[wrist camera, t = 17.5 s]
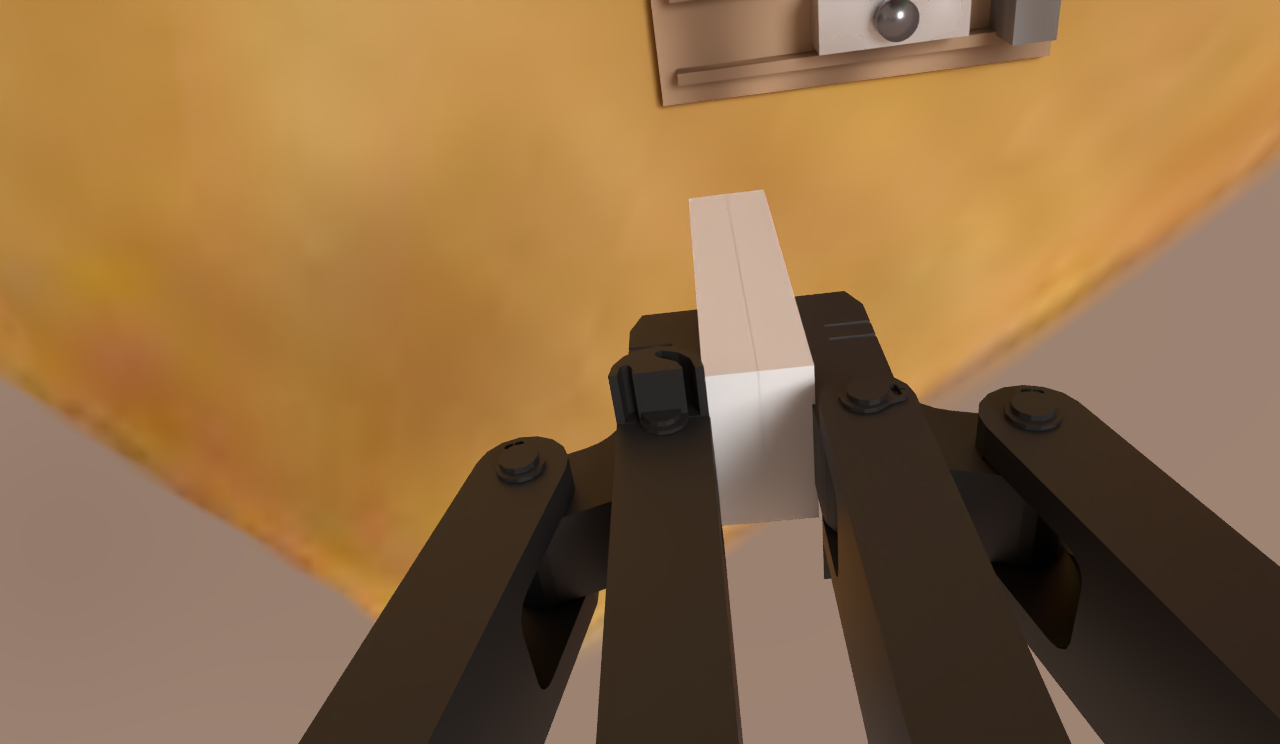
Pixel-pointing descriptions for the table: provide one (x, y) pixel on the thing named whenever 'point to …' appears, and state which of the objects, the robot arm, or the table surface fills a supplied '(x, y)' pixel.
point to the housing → (785, 58)
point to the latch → (884, 23)
